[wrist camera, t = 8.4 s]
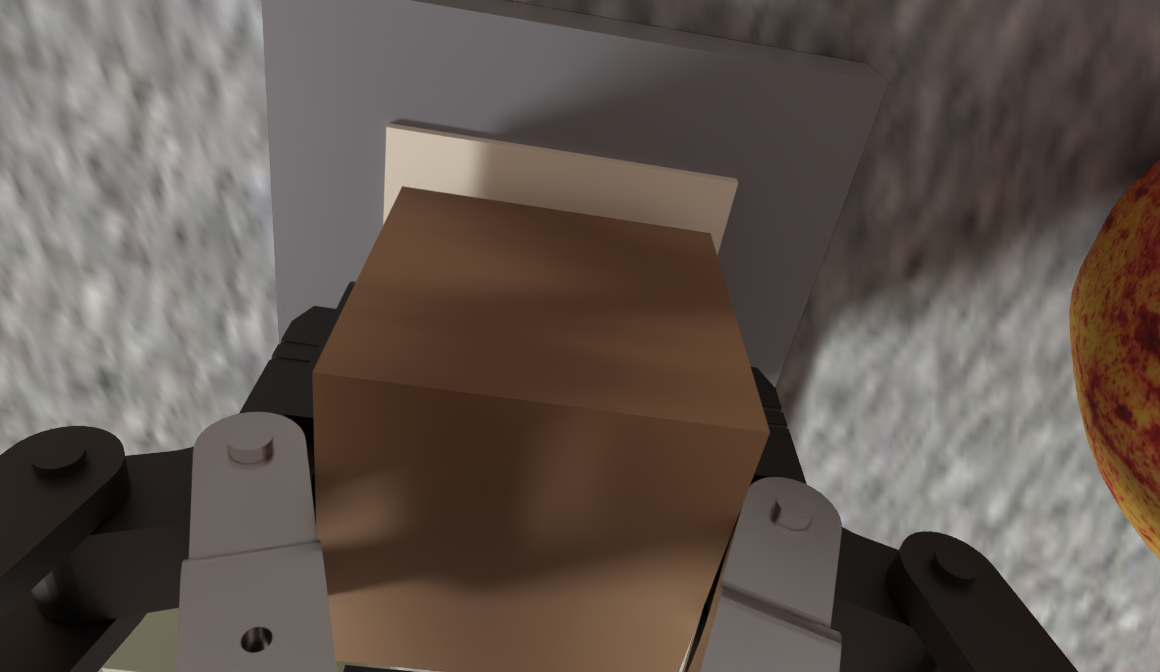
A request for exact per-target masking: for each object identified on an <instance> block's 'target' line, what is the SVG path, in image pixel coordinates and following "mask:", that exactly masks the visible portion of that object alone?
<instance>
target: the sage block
mask: <svg viewBox="0 0 1160 672" xmlns="http://www.w3.org/2000/svg"><path fill="white" fill-rule="evenodd" d="M178 621H179V608H175V609H169V610H163V611H157V612H151V613H147V614H146V616H145V617H144V618H143V620H142V621H141V622H140V623H139V625H138V626H137V627H136V628H135V629H134V630H133V631H132V633H131V634H130V635H129V636H128V637H127V638H126V640H125V641H124V642H123V643H122V644H121V645H120V647H119V648H118V649H117V650H116V651H115V652H114V653H113V655H112V656H111V657H110V658H109V659H108V660H107V662H106V663H105V664H104V665H103V667H102V670H103V672H176V661H177V641H178ZM345 665H353V666H363V667H373V668H383V669H390V666H383V665H373V664H363V663H353V662H343V661H336V667H337V672H343V671H344V667H345Z"/></svg>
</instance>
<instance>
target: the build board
mask: <svg viewBox="0 0 1160 672" xmlns="http://www.w3.org/2000/svg"><path fill="white" fill-rule="evenodd" d="M262 15H263V35H264V55H265V74H266V94H267V114H268V133H269V153H270V173H271V193H272V212H273V232H274V252H275V271H276V291H277V311H278V331H279V344H280V343H281V339H282V337H283V335H284V334H285V332H286V330H287V328H288V327H289V325H290V323H291V321H292V320H294V319H295V318H297V317H298V316H300V315H301V314H303V313H304V312H306V311H307V310H309V309H310V308H312V307H313V306H320V307H327V308H334V309H336V308H337V306H338V304H339V302H340V300H341V298H342V296H343V294H344V292H345V290H346V288H347V286H348V284H349V283H350V282H351V281H354V282H356V281H357V279H358V277H359V275H360V273H361V271H362V268H363V266H364V264H365V262H366V260H367V258H368V256H369V254H370V252H371V250H372V248H373V246H374V244H375V242H376V239H377V237H378V235H379V233H380V231H381V229H382V227H383V225H384V223H385V221H386V219H387V217H388V215H389V213H390V210H391V208H392V206H393V204H394V202H395V200H396V198H397V196H398V194H399V192H400V190H401V188H402V186H404V187H411V188H417V189H424V190H430V191H437V192H443V193H450V194H457V195H463V196H470V197H476V198H483V199H489V200H496V201H503V202H509V203H516V204H522V205H529V206H535V207H542V208H549V209H555V210H562V211H568V212H575V213H581V214H588V215H594V216H601V217H608V218H614V219H621V220H627V221H634V222H640V223H647V224H654V225H660V226H667V227H673V228H680V229H686V230H693V231H700V232H706V233H711V236H712V239H713V243H714V246H715V250H716V253H717V256H718V260H719V263H720V266H721V270H722V273H723V276H724V280H725V283H726V286H727V290H728V293H729V296H730V300H731V303H732V306H733V310H734V313H735V317H736V320H737V323H738V327H739V330H740V333H741V337H742V340H743V343H744V347H745V350H746V353H747V357H748V360H749V363H750V367H757V368H758V369H759V370H760V371H761V372H762V373H763V375H764V376H765V377H766V378H767V379H768V380H769V381H770V382H771V384H772V385H773V386H774V387H776V385H777V382H778V379H779V377H780V374H781V371H782V369H783V366H784V363H785V360H786V358H787V355H788V352H789V350H790V347H791V344H792V342H793V339H794V336H795V334H796V331H797V328H798V326H799V323H800V320H801V318H802V315H803V312H804V310H805V307H806V304H807V302H808V299H809V296H810V293H811V291H812V288H813V285H814V283H815V280H816V277H817V275H818V272H819V269H820V267H821V264H822V261H823V259H824V256H825V253H826V251H827V248H828V245H829V243H830V240H831V237H832V234H833V232H834V229H835V226H836V224H837V221H838V218H839V216H840V213H841V210H842V208H843V205H844V202H845V200H846V197H847V194H848V192H849V189H850V186H851V184H852V181H853V178H854V175H855V173H856V170H857V167H858V165H859V162H860V159H861V157H862V154H863V151H864V149H865V146H866V143H867V141H868V138H869V135H870V133H871V130H872V127H873V125H874V122H875V119H876V117H877V114H878V111H879V108H880V106H881V103H882V100H883V98H884V95H885V92H886V90H887V87H888V84H889V83H888V82H887V81H886V80H885V79H884V78H883V77H882V76H881V75H880V74H878V73H877V72H876V71H875V70H874V69H873V68H872V67H871V66H869V65H868V64H867V63H862V62H856V61H850V60H845V59H839V58H833V57H827V56H822V55H816V54H810V53H805V52H799V51H793V50H787V49H782V48H776V47H770V46H764V45H759V44H753V43H747V42H742V41H736V40H730V39H724V38H719V37H713V36H707V35H701V34H696V33H690V32H684V31H679V30H673V29H667V28H661V27H656V26H650V25H644V24H638V23H633V22H627V21H621V20H616V19H610V18H604V17H598V16H593V15H587V14H581V13H575V12H570V11H564V10H558V9H553V8H547V7H541V6H535V5H530V4H524V3H518V2H512V1H507V0H262Z"/></svg>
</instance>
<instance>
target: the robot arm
mask: <svg viewBox="0 0 1160 672" xmlns="http://www.w3.org/2000/svg"><path fill="white" fill-rule="evenodd" d="M355 283H356V282H354V281H351V282H350V283H349V284H348V286H347V288H346V290H345V292H344V294H343V296H342V298H341V300H340V302H339V304H338V306H337V308H336V309H334V308H327V307H320V306H313V307H312V308H310V309H309V310H307V311H306V312H304V313H303V314H301V315H300V316H298V317H297V318H295V319H294V320H292V321H291V323H290V325H289V327H288V328H287V330H286V332H285V334H284V335H283V337H282V339H281V343H280V344H278V346H277V348H276V349H275V351H274V353H273V355H272V359H271V360H269V362H268V363H267V365H266V367H265V369H264V371H263V372H262V374H261V376H260V378H259V379H258V381H257V383H256V385H255V386H254V388H253V390H252V392H251V393H250V395H249V397H248V399H247V400H246V402H245V404H244V406H243V407H242V409H241V411H240V413H239V414H236V415H232V416H229V417H226V418H223V419H221V420H219V421H217V422H215V423H213V424H212V425H210V426H209V427H208V428H206V429H205V430H204V431H203V432H202V433H201V434H200V436H199V437H198V438H197V440H196V442H195V444H194V447H191V448H186V449H182V450H177V451H170V452H160V453H150V454H140V455H130V456H125V452H124V447H123V445H122V443H121V441H120V440H119V439H118V438H117V437H116V436H115V435H113V434H111V433H110V432H108V431H105V430H102V429H99V428H95V427H87V426H69V427H60V428H55V429H50V430H47V431H43V432H40V433H37V434H35V435H32V436H30V437H28V438H26V439H24V440H22V441H20V442H18V443H17V444H15V445H14V446H12V447H11V448H9V449H8V450H7V451H5V452H4V453H3V454H1V455H0V672H98V671H99V670H100V668H101V667H102V666H103V665H104V664H105V663H106V662H107V660H108V659H109V658H110V657H111V656H112V655H113V653H114V652H115V651H116V650H117V649H118V648H119V647H120V645H121V644H122V643H123V642H124V641H125V640H126V638H127V637H128V636H129V635H130V634H131V633H132V631H133V630H134V629H135V628H136V627H137V626H138V625H139V623H140V622H141V621H142V620H143V618H144V617H145V616H146V614H147V613H151V612H157V611H163V610H169V609H175V608H179V621H178V641H177V661H176V672H337V667H336V658H335V650H334V642H333V634H332V626H331V618H330V610H329V602H328V594H327V585H326V577H325V569H324V561H323V553H322V546H321V541H320V539H319V540H318V539H317V531H316V499H315V458H314V418H313V377H312V372H313V370H314V368H315V366H316V364H317V362H318V360H319V358H320V355H321V353H322V351H323V349H324V347H325V345H326V343H327V341H328V339H329V337H330V335H331V333H332V331H333V329H334V326H335V324H336V322H337V320H338V318H339V316H340V314H341V312H342V310H343V308H344V306H345V304H346V302H347V300H348V297H349V295H350V293H351V291H352V289H353V287H354V285H355ZM751 370H752V373H753V377H754V380H755V384H756V387H757V390H758V394H759V397H760V400H761V404H762V407H763V410H764V414H765V417H766V420H767V424H768V427H769V430H770V434H769V437H768V439H767V442H766V444H765V447H764V450H763V452H762V455H761V458H760V460H759V463H758V465H757V468H756V471H755V473H754V476H753V478H752V481H751V484H750V486H749V489H748V492H747V494H746V497H745V499H744V502H743V505H742V507H741V510H740V513H739V515H738V518H737V520H736V523H735V526H734V528H733V531H732V533H731V536H730V539H729V541H728V544H727V547H726V549H725V552H724V554H723V557H722V560H721V562H720V565H719V567H718V570H717V573H716V575H715V578H714V581H713V583H712V586H711V588H710V591H709V594H708V596H707V599H706V601H705V604H704V607H703V609H702V612H701V615H700V617H699V620H698V622H697V625H696V628H695V631H694V634H693V638H692V641H691V644H690V648H689V651H688V654H687V658H686V661H685V665H684V668H683V671H682V672H1078V671H1077V670H1076V668H1075V667H1074V666H1073V665H1072V663H1071V662H1070V661H1069V660H1068V658H1067V657H1066V656H1065V655H1064V653H1063V652H1062V651H1061V650H1060V648H1059V647H1058V646H1057V645H1056V643H1055V642H1054V641H1053V640H1052V638H1051V637H1050V636H1049V635H1048V633H1047V632H1046V631H1045V630H1044V628H1043V627H1042V626H1041V625H1040V623H1039V622H1038V621H1037V620H1036V618H1035V617H1034V616H1033V615H1032V613H1031V612H1030V611H1029V610H1028V608H1027V607H1026V606H1025V605H1024V603H1023V602H1022V601H1021V600H1020V598H1019V597H1018V596H1017V595H1016V593H1015V592H1014V591H1013V590H1012V588H1011V587H1010V586H1009V585H1008V584H1007V582H1006V581H1005V580H1004V579H1003V577H1002V576H1001V575H1000V574H999V572H998V571H997V570H996V569H995V567H994V566H993V565H992V564H991V563H990V562H989V561H988V559H986V558H985V557H984V556H983V555H982V554H981V553H980V552H978V551H977V550H976V549H974V548H973V547H971V546H970V545H968V544H966V543H965V542H963V541H961V540H959V539H957V538H954V537H952V536H949V535H946V534H942V533H938V532H917V533H914V534H912V535H910V536H908V537H907V538H906V539H905V540H904V542H903V543H902V545H901V547H900V548H899V550H897V549H894V548H892V547H889V546H886V545H884V544H881V543H878V542H875V541H873V540H870V539H867V538H865V537H862V536H859V535H857V534H855V533H852V532H850V531H849V530H847V529H845V528H843V527H842V523H841V519H840V516H839V514H838V512H837V510H836V509H835V507H834V506H833V504H832V503H831V502H830V501H829V500H828V499H827V498H826V497H825V496H824V495H822V494H821V493H820V492H818V491H817V490H815V489H814V488H812V487H810V486H808V485H807V483H806V480H805V477H804V474H803V471H802V468H801V465H800V462H799V459H798V456H797V453H796V450H795V447H794V444H793V441H792V438H791V435H790V432H789V429H787V423H786V420H785V417H784V414H783V412H781V409H782V407H781V404H780V401H779V398H778V395H777V392H776V389H775V387H774V386H773V385H772V384H771V382H770V381H769V380H768V379H767V378H766V377H765V376H764V375H763V373H762V372H761V371H760V370H759V369H758V368H757V367H751ZM343 672H413V671H403V670H393V669H383V668H373V667H363V666H353V665H345V667H344V671H343Z"/></svg>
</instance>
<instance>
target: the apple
mask: <svg viewBox="0 0 1160 672" xmlns="http://www.w3.org/2000/svg"><path fill="white" fill-rule="evenodd" d="M1070 340H1071V350H1072V361H1073V371H1074V378H1075V384H1076V391H1077V397H1078V402H1079V406H1080V411H1081V415H1082V420H1083V424H1084V428H1085V432H1086V435H1087V439H1088V442H1089V445H1090V448H1091V451H1092V453H1093V456H1094V458H1095V461H1096V463H1097V466H1098V468H1099V470H1100V473H1101V475H1102V477H1103V479H1104V481H1105V483H1106V485H1107V486H1108V488H1109V490H1110V492H1111V493H1112V495H1113V497H1114V499H1115V500H1116V502H1117V504H1118V505H1119V507H1120V508H1121V510H1122V511H1123V513H1124V514H1125V516H1126V517H1127V518H1128V520H1129V521H1130V523H1131V524H1132V525H1133V527H1134V528H1135V530H1136V531H1137V533H1138V534H1139V535H1140V536H1141V538H1142V539H1143V540H1144V542H1145V543H1146V544H1147V546H1148V547H1149V548H1150V549H1151V550H1152V551H1153V553H1154V554H1155V555H1156V556H1157V557H1158V558H1159V559H1160V160H1158V161H1157V162H1156V163H1155V164H1153V165H1152V166H1151V167H1150V168H1149V169H1148V170H1147V171H1146V172H1145V173H1144V174H1142V175H1141V176H1140V177H1139V178H1138V179H1137V180H1136V181H1135V182H1134V183H1133V184H1132V185H1131V186H1130V187H1129V188H1128V189H1127V190H1126V191H1125V193H1124V194H1123V195H1122V197H1121V198H1120V199H1119V201H1118V202H1117V203H1116V204H1115V206H1114V207H1113V208H1112V210H1111V212H1110V214H1109V215H1108V217H1107V219H1106V221H1105V223H1104V224H1103V226H1102V228H1101V230H1100V232H1099V234H1098V236H1097V238H1096V240H1095V242H1094V243H1093V245H1092V247H1091V249H1090V251H1089V253H1088V255H1087V257H1086V258H1085V260H1084V262H1083V264H1082V266H1081V268H1080V271H1079V273H1078V276H1077V279H1076V282H1075V285H1074V287H1073V290H1072V296H1071V304H1070Z"/></svg>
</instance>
